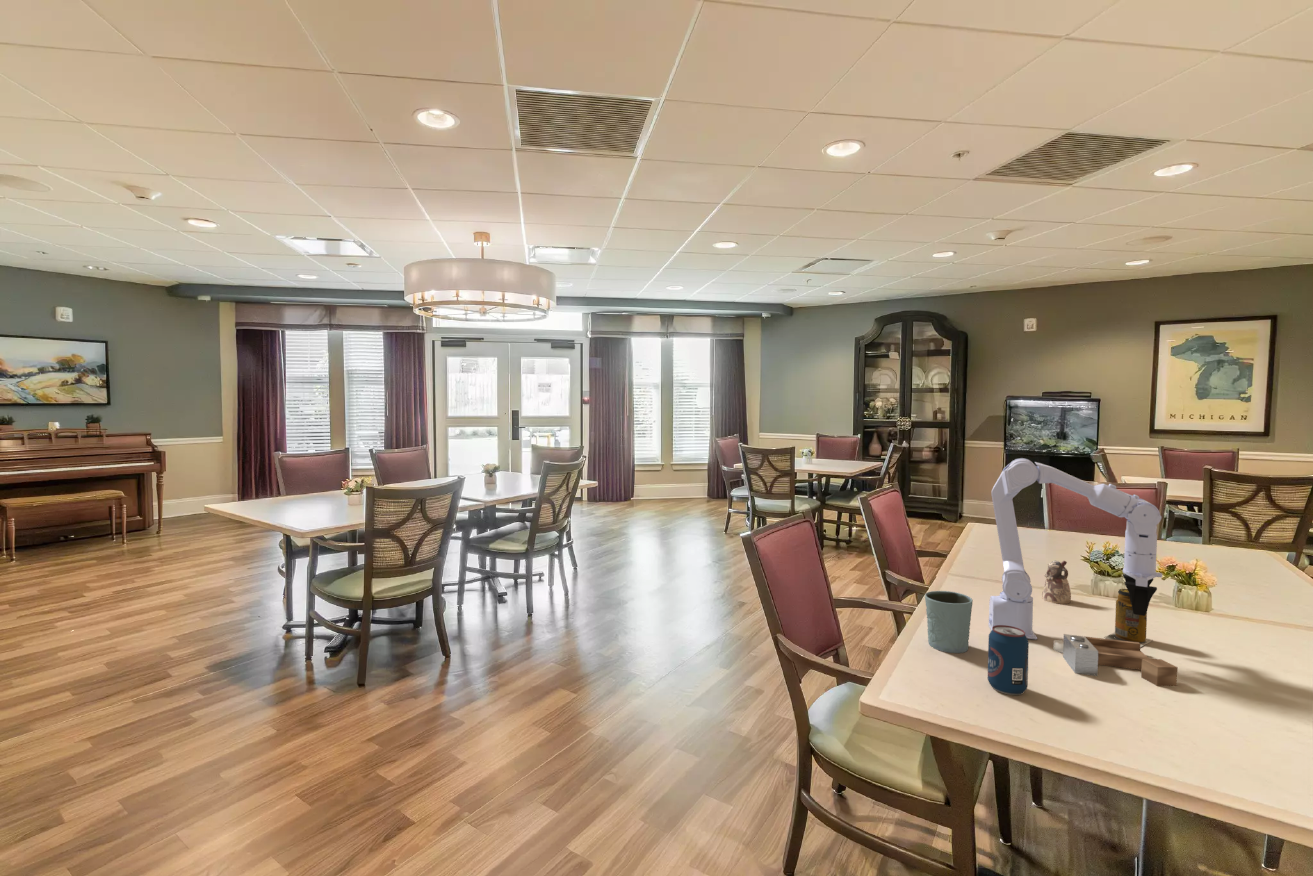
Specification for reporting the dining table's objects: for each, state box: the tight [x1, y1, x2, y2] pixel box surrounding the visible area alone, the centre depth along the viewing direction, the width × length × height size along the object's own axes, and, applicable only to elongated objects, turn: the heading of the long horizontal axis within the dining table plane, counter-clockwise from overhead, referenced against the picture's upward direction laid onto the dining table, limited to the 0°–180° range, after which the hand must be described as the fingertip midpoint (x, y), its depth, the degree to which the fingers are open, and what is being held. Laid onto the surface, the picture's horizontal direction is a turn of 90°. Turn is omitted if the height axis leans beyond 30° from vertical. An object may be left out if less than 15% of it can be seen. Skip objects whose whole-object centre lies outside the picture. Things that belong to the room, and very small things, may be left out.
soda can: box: [987, 625, 1029, 696], centre depth 119 cm, size 7×7×12 cm
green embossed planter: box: [924, 590, 974, 654], centre depth 141 cm, size 10×10×12 cm
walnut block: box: [1140, 658, 1178, 687], centre depth 122 cm, size 4×4×4 cm
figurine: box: [1041, 560, 1072, 605], centre depth 176 cm, size 7×7×12 cm
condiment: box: [1103, 588, 1153, 648], centre depth 145 cm, size 7×8×12 cm
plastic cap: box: [1052, 639, 1064, 654], centre depth 139 cm, size 4×4×2 cm
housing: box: [1062, 633, 1099, 677], centre depth 130 cm, size 4×9×6 cm, turn 159°
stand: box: [1085, 636, 1154, 671], centre depth 134 cm, size 12×11×2 cm
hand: (1138, 610), depth 138 cm, fingers open, 7 cm apart
